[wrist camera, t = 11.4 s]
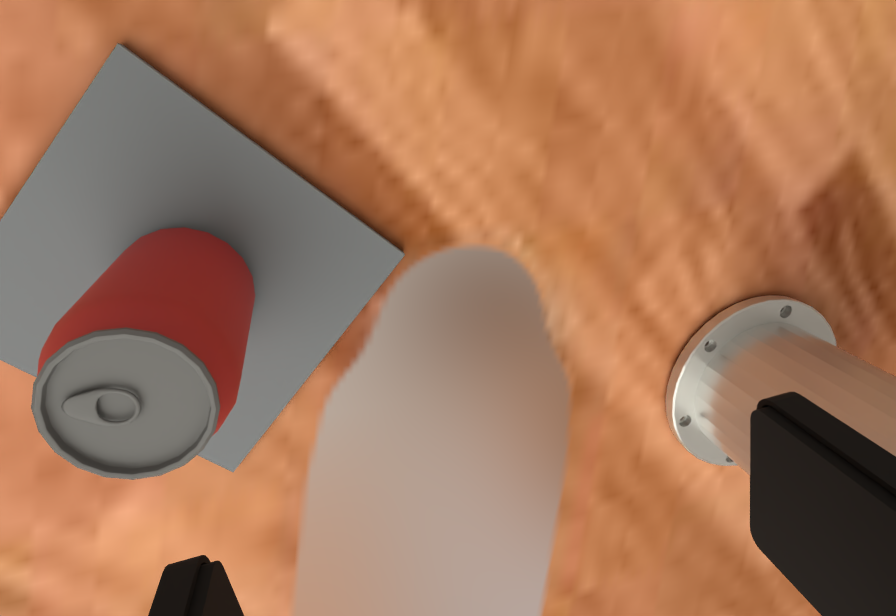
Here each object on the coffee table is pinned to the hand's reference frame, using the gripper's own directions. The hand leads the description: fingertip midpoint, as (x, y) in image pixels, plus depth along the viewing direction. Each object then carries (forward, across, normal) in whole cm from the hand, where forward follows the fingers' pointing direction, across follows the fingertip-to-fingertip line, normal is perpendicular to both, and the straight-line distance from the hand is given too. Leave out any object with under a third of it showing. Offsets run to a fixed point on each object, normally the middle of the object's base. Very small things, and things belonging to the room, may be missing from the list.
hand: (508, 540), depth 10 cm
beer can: (+23, +10, 0) cm, 25 cm away
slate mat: (+24, +10, 0) cm, 26 cm away
